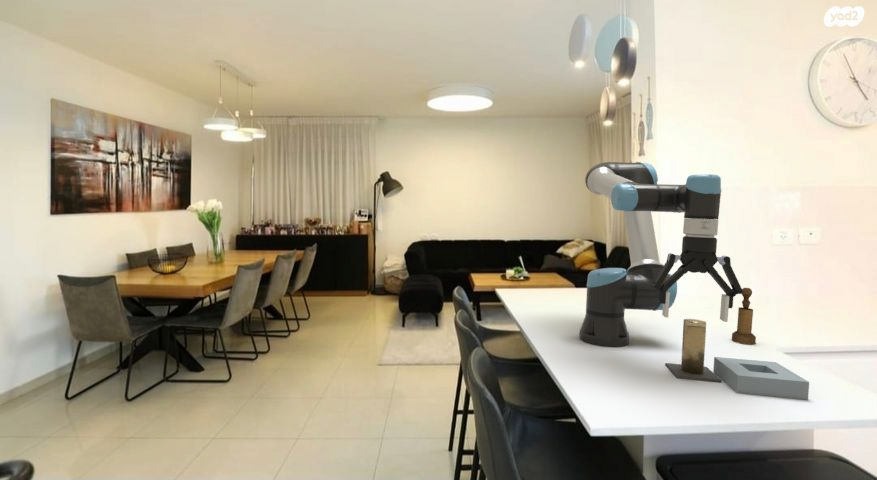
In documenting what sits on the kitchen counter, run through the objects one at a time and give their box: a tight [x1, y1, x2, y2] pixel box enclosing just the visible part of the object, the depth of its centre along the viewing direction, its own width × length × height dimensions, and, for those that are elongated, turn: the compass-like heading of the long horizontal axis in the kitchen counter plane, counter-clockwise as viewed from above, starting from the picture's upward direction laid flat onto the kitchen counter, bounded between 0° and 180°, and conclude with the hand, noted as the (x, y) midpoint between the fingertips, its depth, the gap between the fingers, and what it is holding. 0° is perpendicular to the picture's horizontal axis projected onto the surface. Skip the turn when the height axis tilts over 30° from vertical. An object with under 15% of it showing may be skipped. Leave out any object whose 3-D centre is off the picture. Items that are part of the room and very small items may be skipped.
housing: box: [712, 356, 810, 400], centre depth 105 cm, size 14×14×4 cm
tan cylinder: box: [680, 318, 707, 375], centre depth 112 cm, size 5×5×13 cm
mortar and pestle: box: [731, 287, 757, 346], centre depth 144 cm, size 7×6×18 cm
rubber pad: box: [664, 362, 723, 383], centre depth 112 cm, size 10×10×1 cm
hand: (693, 318), depth 112 cm, fingers open, 13 cm apart
